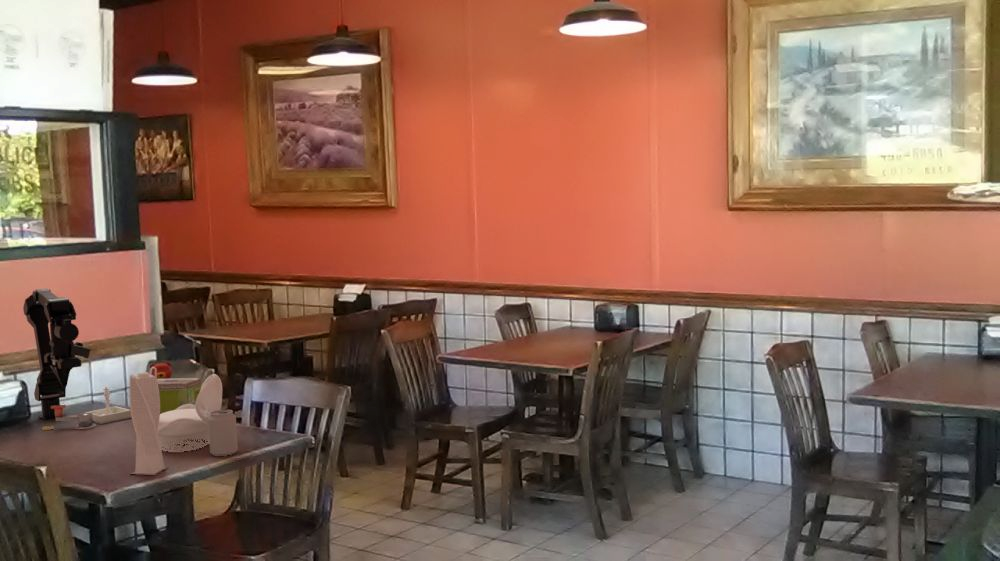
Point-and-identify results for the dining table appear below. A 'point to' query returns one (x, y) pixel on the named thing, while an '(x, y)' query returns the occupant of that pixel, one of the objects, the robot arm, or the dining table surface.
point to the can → (222, 433)
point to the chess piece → (107, 402)
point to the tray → (110, 415)
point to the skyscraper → (146, 422)
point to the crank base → (86, 426)
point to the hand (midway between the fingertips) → (64, 386)
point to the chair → (191, 418)
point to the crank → (73, 416)
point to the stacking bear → (162, 370)
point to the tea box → (178, 392)
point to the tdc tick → (47, 427)
